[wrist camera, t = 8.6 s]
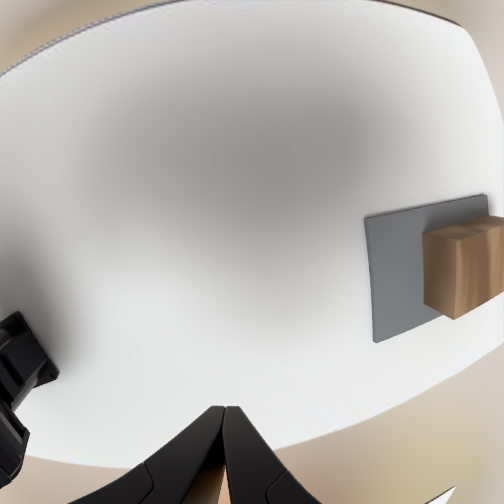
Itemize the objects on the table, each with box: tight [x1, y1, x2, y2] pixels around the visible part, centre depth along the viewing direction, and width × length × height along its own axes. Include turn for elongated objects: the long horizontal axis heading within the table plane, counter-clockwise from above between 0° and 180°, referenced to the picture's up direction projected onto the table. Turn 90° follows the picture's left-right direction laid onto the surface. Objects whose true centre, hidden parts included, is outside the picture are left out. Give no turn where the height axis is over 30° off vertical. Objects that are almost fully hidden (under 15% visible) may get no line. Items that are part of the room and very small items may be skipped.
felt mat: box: [364, 195, 489, 343], centre depth 21 cm, size 15×10×1 cm, turn 101°
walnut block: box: [422, 215, 504, 320], centre depth 19 cm, size 4×6×10 cm
